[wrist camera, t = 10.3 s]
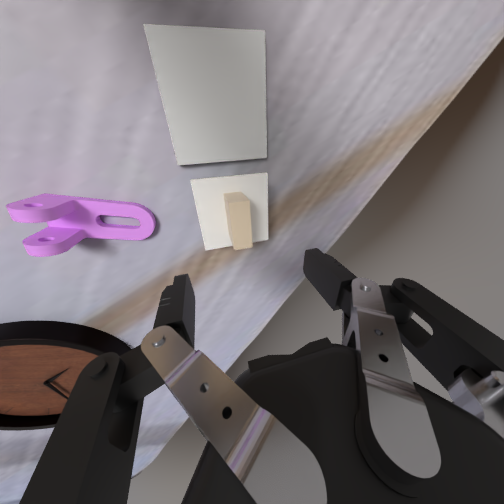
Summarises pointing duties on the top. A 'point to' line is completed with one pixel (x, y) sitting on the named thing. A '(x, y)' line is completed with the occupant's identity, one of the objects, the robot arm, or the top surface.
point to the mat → (211, 91)
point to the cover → (232, 209)
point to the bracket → (77, 221)
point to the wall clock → (44, 368)
